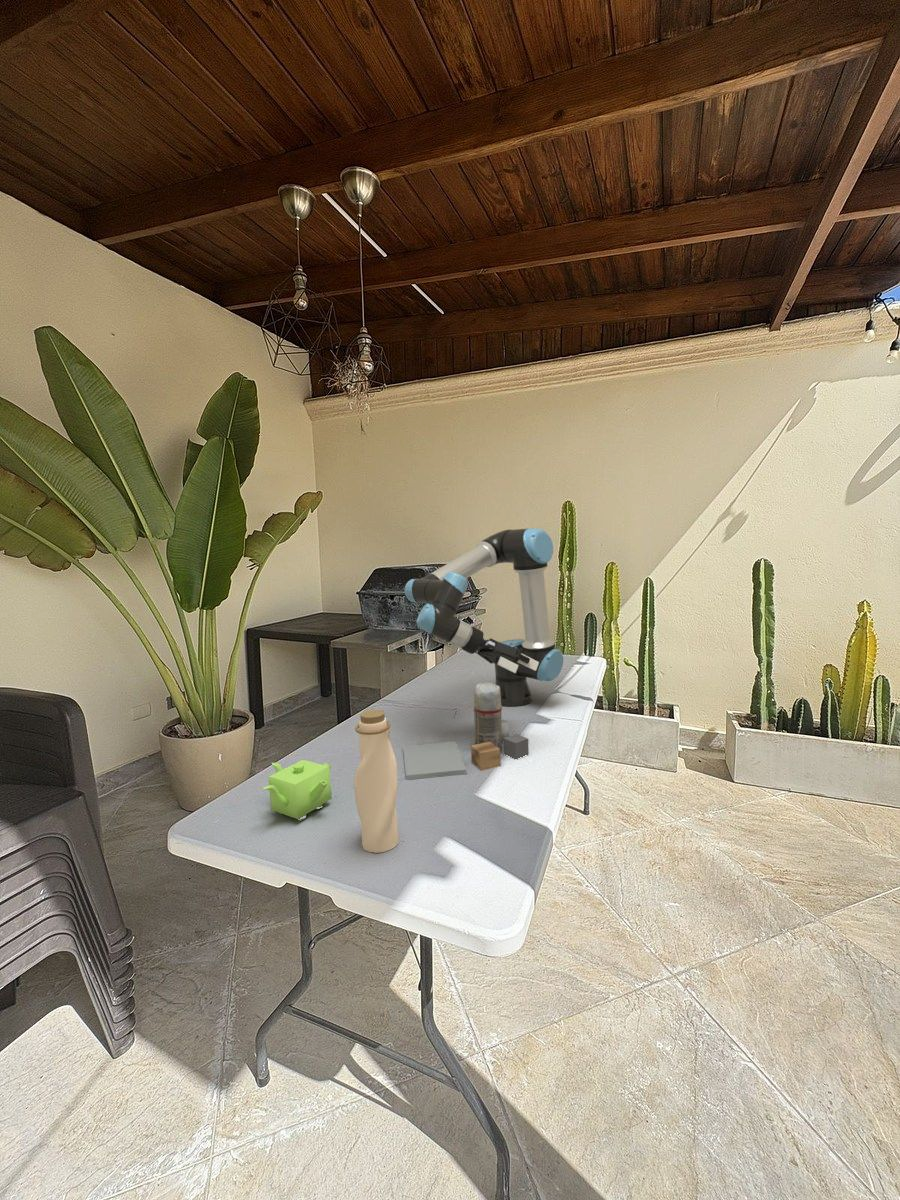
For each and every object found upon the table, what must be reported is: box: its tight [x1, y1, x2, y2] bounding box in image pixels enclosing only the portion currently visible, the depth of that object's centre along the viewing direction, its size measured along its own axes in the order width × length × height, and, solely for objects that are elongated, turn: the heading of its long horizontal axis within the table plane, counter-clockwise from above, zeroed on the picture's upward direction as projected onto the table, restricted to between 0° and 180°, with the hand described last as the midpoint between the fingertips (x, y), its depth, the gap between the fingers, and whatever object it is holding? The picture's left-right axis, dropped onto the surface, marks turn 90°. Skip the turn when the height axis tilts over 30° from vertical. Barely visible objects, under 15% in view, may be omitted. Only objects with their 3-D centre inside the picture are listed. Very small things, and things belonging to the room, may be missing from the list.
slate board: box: [402, 741, 467, 781], centre depth 151 cm, size 20×16×1 cm
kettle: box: [262, 759, 333, 820], centre depth 126 cm, size 15×14×11 cm
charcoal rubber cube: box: [503, 733, 530, 760], centre depth 153 cm, size 5×5×5 cm
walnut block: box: [470, 742, 502, 771], centre depth 147 cm, size 6×6×5 cm
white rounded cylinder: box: [501, 719, 510, 743], centre depth 165 cm, size 6×6×5 cm
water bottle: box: [353, 709, 400, 854], centre depth 111 cm, size 10×9×28 cm
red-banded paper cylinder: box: [473, 681, 503, 752], centre depth 156 cm, size 8×8×20 cm
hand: (526, 668), depth 162 cm, fingers open, 13 cm apart
